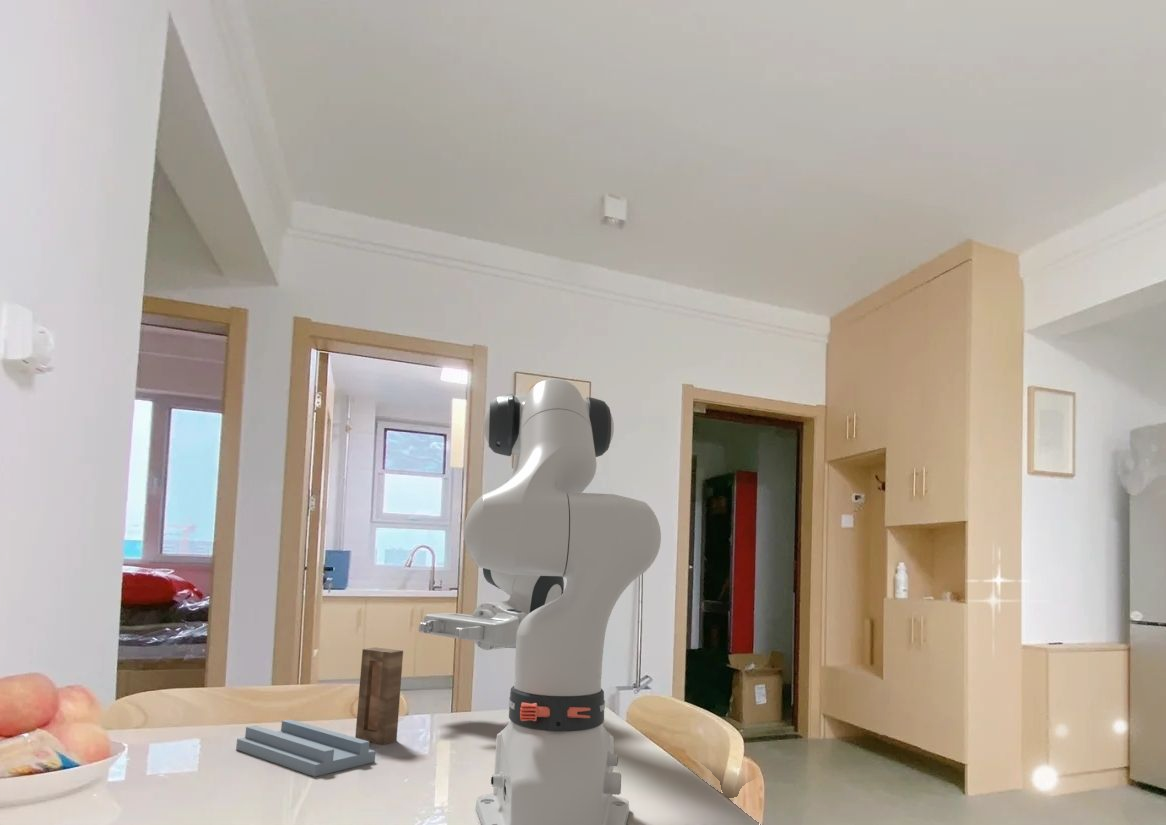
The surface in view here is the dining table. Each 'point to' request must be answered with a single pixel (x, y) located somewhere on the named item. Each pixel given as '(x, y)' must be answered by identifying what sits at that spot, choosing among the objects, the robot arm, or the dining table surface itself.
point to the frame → (379, 695)
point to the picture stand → (306, 748)
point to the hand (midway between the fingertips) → (439, 630)
